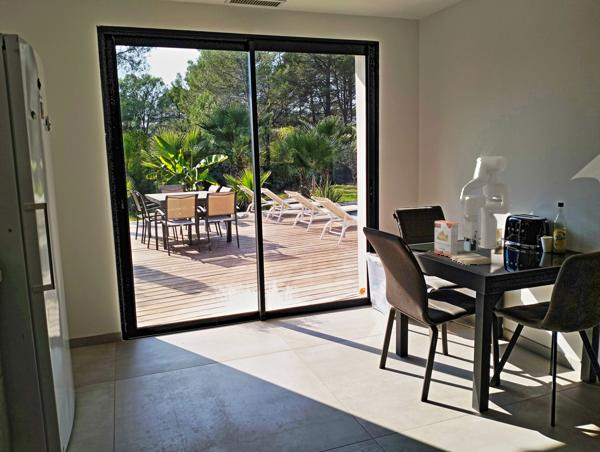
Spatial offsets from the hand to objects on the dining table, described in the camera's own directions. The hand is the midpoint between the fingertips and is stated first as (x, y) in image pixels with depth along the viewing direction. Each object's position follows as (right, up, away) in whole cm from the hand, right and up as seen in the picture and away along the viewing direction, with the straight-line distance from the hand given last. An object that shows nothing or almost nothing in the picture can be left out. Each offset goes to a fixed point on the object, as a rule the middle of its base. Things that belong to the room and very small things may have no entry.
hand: (470, 249), depth 276 cm
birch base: (0, -7, +1) cm, 7 cm away
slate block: (0, -1, 0) cm, 1 cm away
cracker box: (-9, -5, +17) cm, 20 cm away
